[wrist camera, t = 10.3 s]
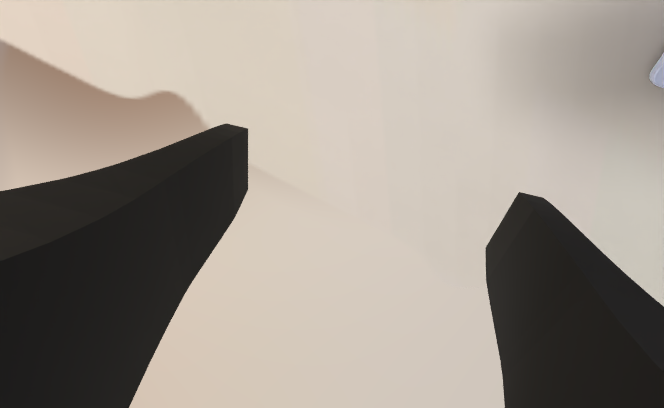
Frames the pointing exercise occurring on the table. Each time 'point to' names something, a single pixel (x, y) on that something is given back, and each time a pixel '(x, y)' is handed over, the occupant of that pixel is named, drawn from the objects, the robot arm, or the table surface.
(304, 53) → the table surface
